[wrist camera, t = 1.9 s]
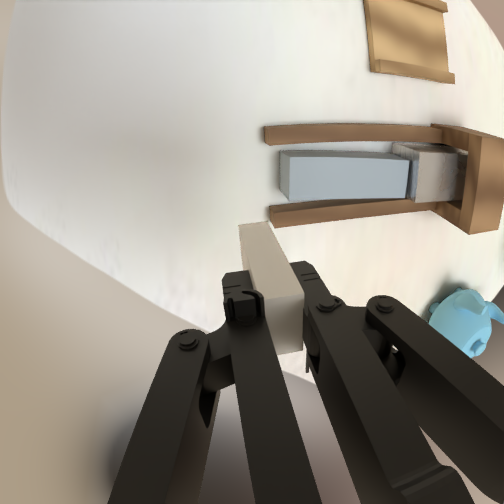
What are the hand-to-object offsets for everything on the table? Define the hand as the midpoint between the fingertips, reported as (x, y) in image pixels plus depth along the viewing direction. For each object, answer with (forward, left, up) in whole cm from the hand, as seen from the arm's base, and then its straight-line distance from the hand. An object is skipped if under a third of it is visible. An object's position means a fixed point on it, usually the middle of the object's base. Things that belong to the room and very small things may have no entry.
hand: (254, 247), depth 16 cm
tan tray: (-15, +19, -14) cm, 28 cm away
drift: (0, +11, -14) cm, 17 cm away
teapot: (+23, +31, -14) cm, 41 cm away
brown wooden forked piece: (0, +16, -14) cm, 21 cm away
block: (0, +22, -14) cm, 26 cm away
